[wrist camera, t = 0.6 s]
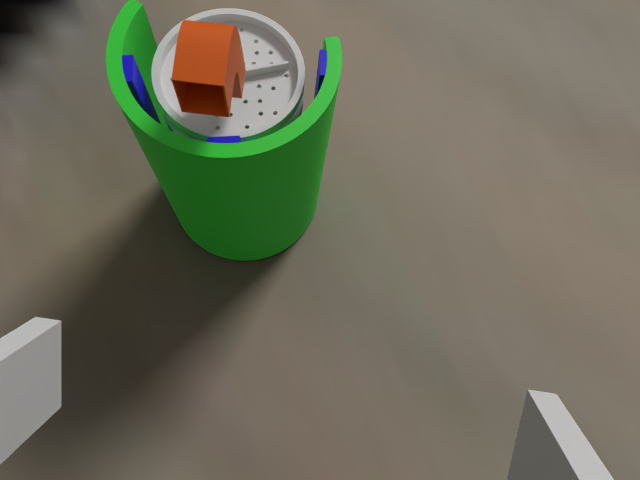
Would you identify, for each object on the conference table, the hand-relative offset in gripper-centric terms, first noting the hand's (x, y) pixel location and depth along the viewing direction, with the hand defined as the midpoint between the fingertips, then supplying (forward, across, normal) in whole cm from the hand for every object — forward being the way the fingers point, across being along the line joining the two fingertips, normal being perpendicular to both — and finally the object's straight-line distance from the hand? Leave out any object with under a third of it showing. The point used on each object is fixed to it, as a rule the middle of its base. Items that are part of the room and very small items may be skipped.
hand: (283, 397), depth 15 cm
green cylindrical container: (+20, +6, -2) cm, 21 cm away
